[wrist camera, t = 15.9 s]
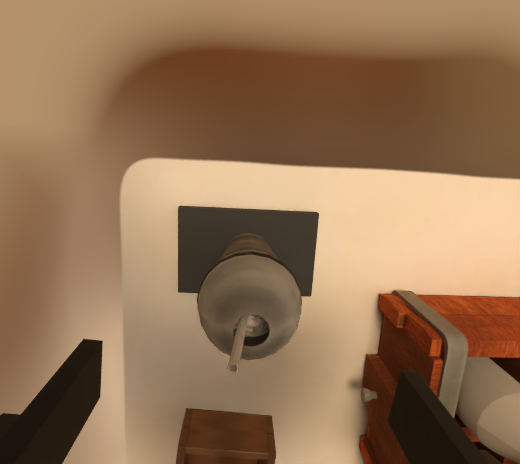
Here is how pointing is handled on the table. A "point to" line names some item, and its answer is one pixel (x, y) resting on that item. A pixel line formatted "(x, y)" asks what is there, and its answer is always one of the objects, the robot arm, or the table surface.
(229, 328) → the beverage cup
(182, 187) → the table surface
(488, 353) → the milk bottle holder
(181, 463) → the wooden compartment box
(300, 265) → the mat
